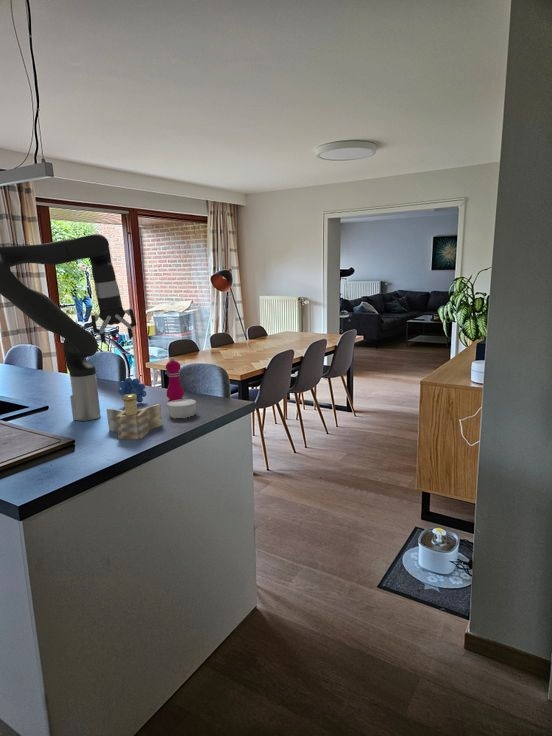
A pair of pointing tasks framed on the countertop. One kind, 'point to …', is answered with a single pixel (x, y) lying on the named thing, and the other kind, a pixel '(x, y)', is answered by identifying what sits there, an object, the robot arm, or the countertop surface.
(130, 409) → the brass peg
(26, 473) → the countertop surface
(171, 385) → the pepper mill
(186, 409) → the ramekin
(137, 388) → the grapes
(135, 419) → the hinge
